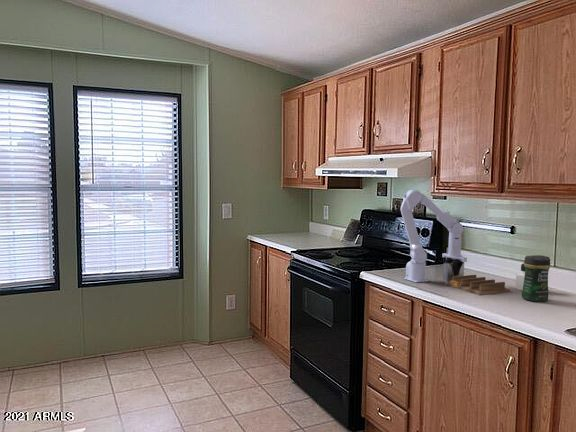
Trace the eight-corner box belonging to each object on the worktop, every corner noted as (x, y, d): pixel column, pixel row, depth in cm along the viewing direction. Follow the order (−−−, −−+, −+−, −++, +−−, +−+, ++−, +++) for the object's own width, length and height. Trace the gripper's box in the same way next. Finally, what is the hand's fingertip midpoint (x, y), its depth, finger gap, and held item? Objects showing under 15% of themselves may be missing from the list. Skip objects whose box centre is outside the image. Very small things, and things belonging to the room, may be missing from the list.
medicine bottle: (526, 292, 214) (527, 265, 213) (514, 288, 220) (516, 262, 219) (539, 291, 215) (541, 264, 214) (528, 287, 222) (529, 262, 221)
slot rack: (446, 285, 226) (446, 276, 226) (476, 282, 233) (476, 274, 233) (479, 294, 208) (479, 285, 208) (509, 291, 215) (510, 282, 215)
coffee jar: (531, 302, 195) (534, 257, 194) (518, 298, 203) (520, 254, 202) (552, 301, 198) (554, 256, 196) (538, 297, 205) (540, 253, 204)
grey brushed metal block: (443, 281, 234) (443, 263, 233) (459, 280, 238) (459, 261, 237) (447, 282, 231) (448, 264, 231) (463, 281, 235) (464, 262, 235)
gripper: (472, 248, 228) (471, 276, 229) (450, 244, 242) (449, 271, 243) (460, 248, 226) (459, 277, 227) (439, 244, 239) (438, 272, 240)
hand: (453, 274), depth 235 cm, fingers closed on grey brushed metal block, 3 cm apart
